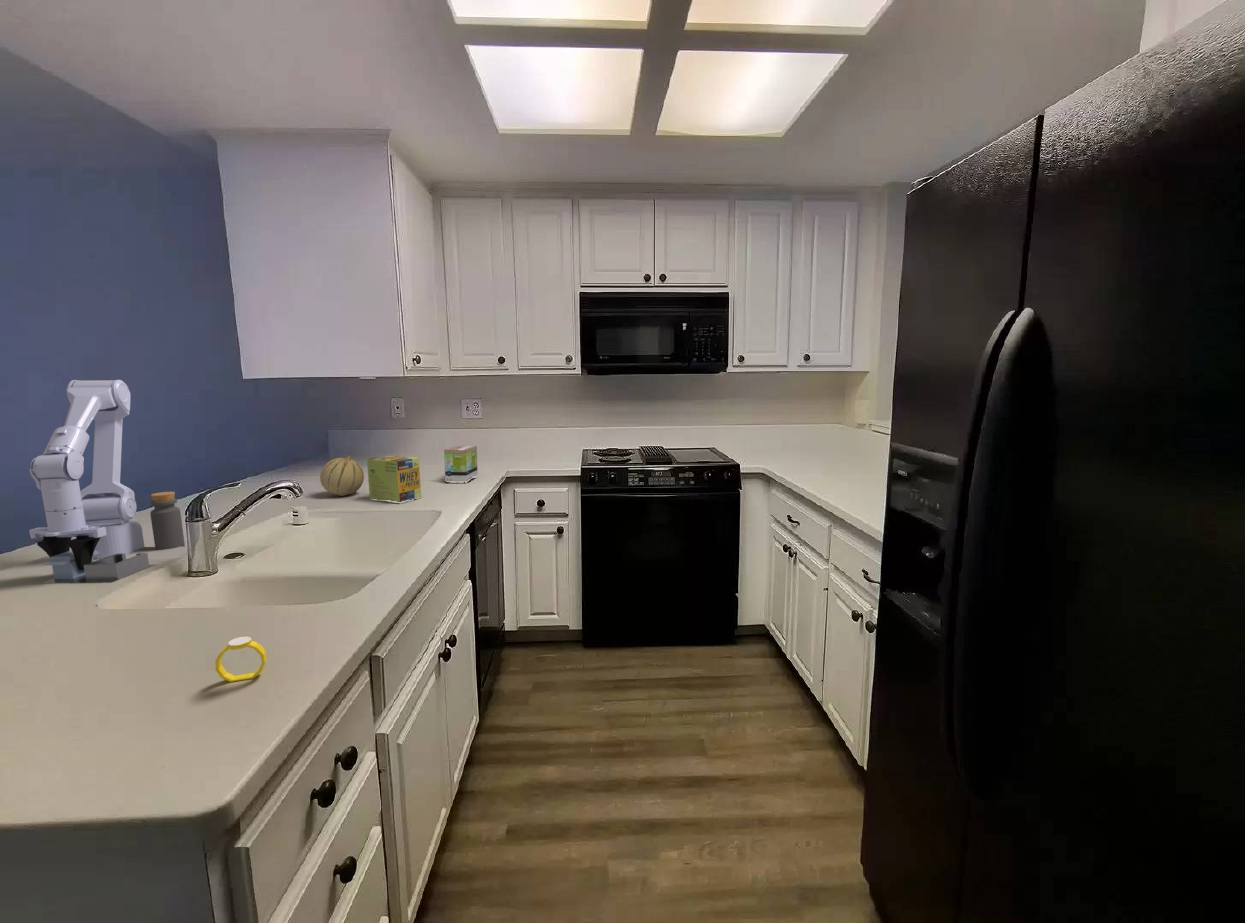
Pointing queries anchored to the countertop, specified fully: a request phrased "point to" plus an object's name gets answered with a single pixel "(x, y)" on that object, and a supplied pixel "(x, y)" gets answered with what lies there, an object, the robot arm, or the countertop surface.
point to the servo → (66, 566)
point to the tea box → (460, 463)
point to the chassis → (109, 569)
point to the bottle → (166, 521)
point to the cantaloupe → (342, 476)
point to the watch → (234, 645)
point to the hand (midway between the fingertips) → (74, 568)
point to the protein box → (394, 478)
